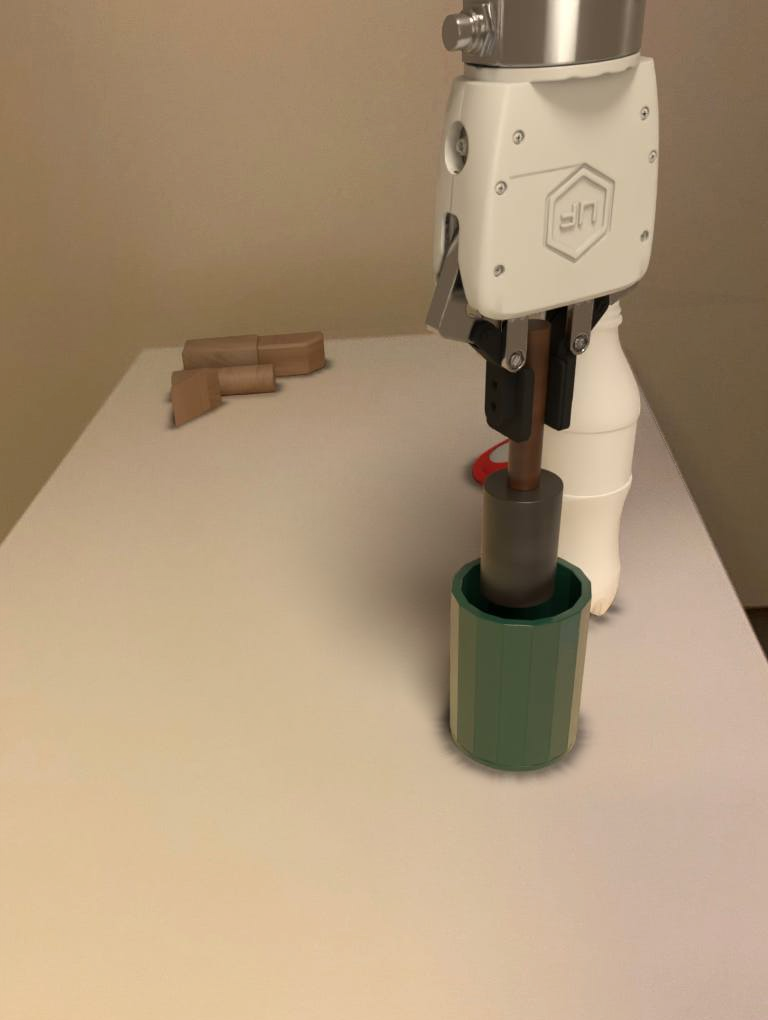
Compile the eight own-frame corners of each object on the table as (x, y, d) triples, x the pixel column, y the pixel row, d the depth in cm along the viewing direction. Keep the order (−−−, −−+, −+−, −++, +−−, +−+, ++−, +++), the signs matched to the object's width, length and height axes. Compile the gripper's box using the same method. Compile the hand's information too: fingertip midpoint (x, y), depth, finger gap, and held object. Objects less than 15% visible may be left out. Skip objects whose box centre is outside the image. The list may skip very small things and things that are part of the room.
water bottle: (539, 574, 82) (560, 264, 68) (626, 593, 79) (669, 271, 64) (507, 620, 77) (523, 297, 63) (599, 642, 74) (638, 307, 59)
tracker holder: (448, 471, 96) (511, 414, 99) (463, 508, 98) (523, 451, 102) (549, 482, 87) (614, 418, 90) (563, 523, 89) (626, 459, 92)
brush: (566, 579, 60) (591, 316, 51) (536, 616, 57) (557, 344, 48) (499, 561, 62) (511, 306, 53) (466, 596, 60) (474, 333, 50)
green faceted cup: (594, 719, 67) (612, 569, 60) (544, 794, 62) (558, 640, 55) (483, 683, 72) (488, 539, 65) (428, 750, 66) (427, 602, 59)
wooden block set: (176, 331, 123) (322, 320, 121) (183, 375, 126) (325, 365, 125) (158, 383, 109) (322, 370, 108) (166, 431, 112) (326, 419, 111)
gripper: (442, 62, 38) (439, 493, 49) (758, 11, 43) (691, 415, 53) (349, 50, 43) (365, 439, 54) (638, 7, 48) (599, 373, 59)
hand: (527, 425), depth 54 cm, fingers closed on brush
